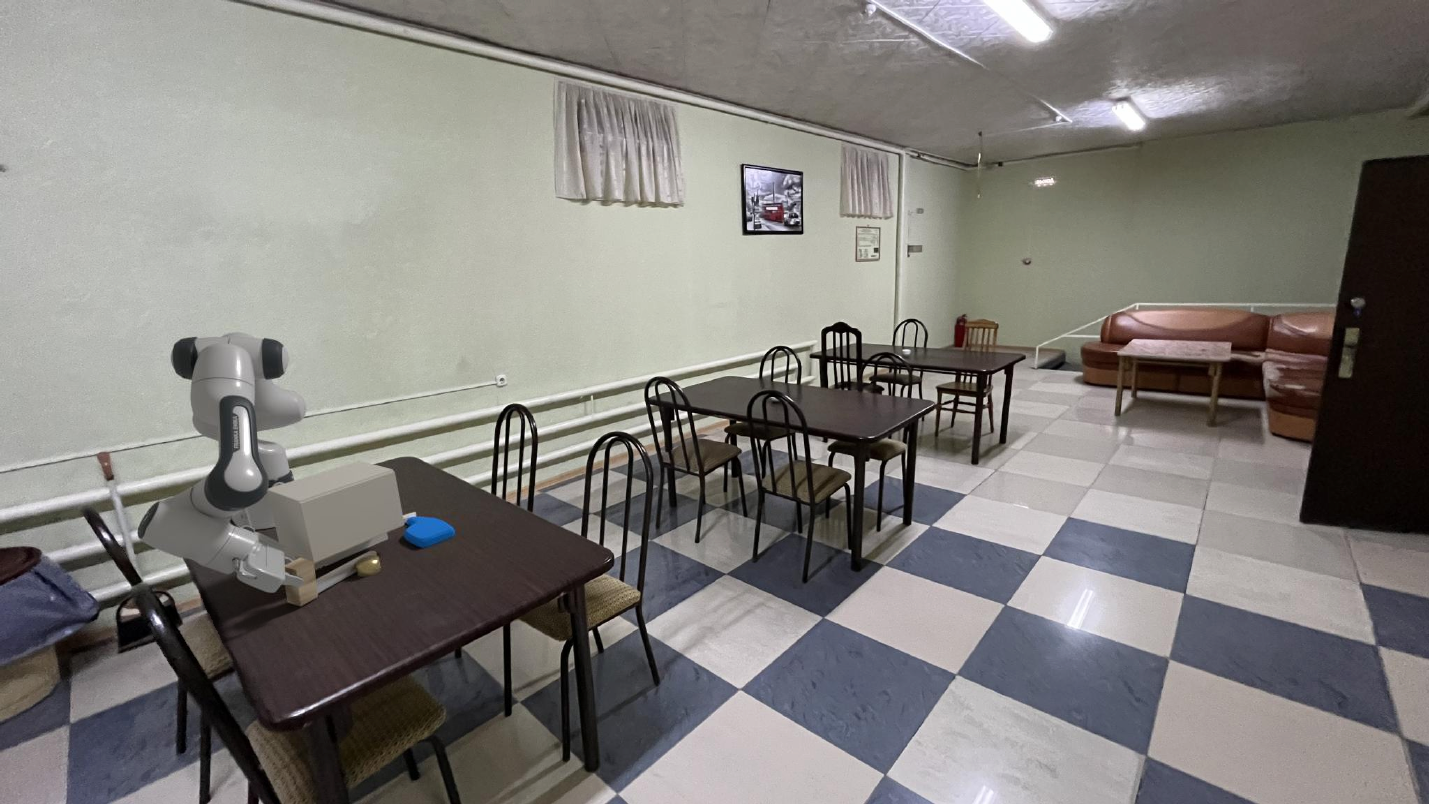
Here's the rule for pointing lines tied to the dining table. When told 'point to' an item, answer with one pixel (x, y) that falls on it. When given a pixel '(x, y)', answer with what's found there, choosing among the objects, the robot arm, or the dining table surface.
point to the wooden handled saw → (310, 583)
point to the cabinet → (336, 512)
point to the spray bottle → (426, 530)
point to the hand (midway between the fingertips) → (301, 576)
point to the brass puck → (368, 566)
